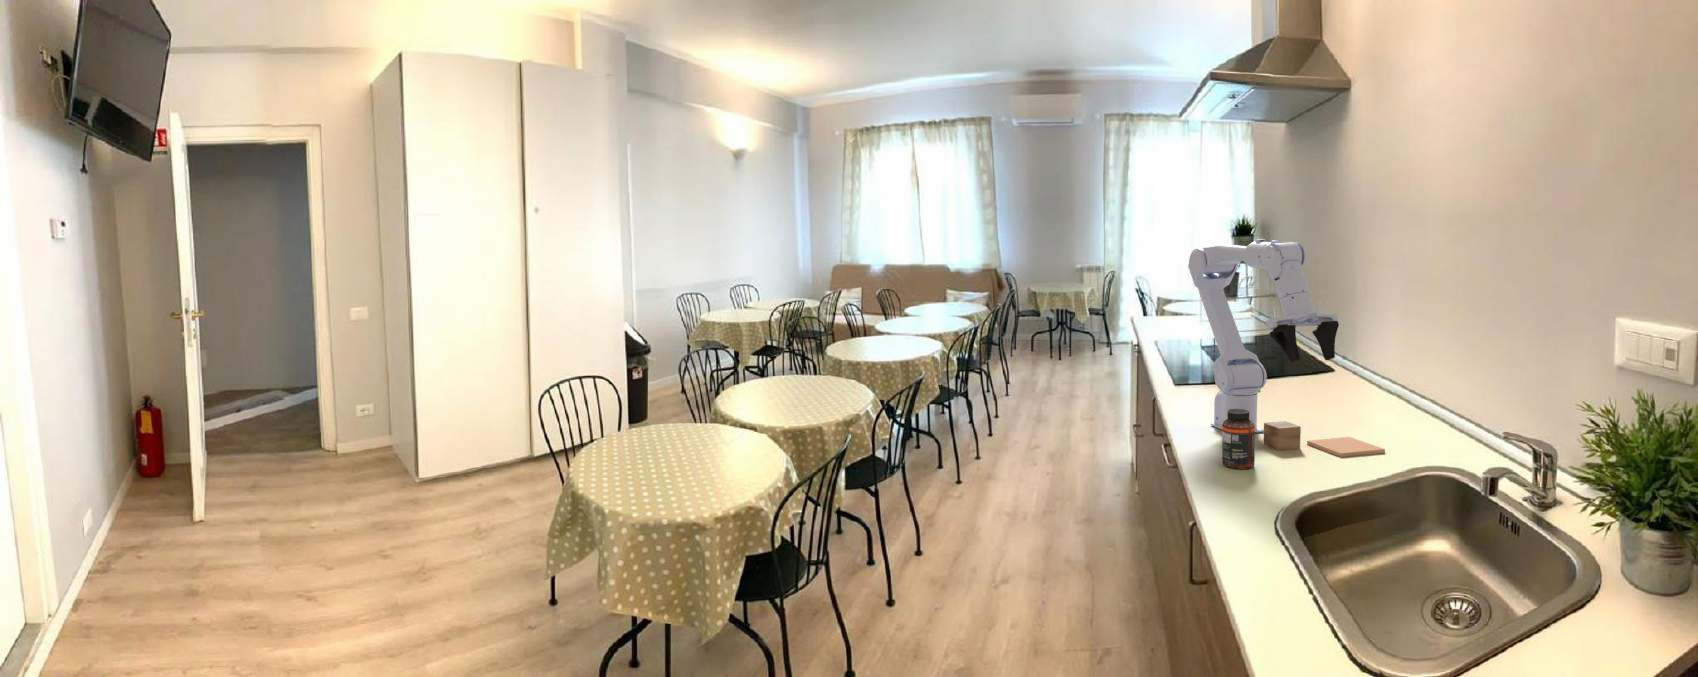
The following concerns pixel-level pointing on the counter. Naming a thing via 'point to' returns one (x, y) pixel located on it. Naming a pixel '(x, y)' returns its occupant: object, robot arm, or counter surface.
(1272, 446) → the walnut cube
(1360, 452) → the terracotta tile
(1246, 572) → the counter surface
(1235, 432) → the supplement bottle
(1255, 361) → the robot arm
